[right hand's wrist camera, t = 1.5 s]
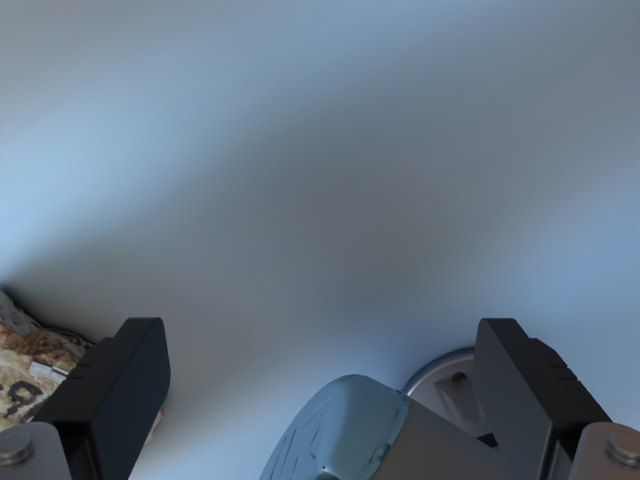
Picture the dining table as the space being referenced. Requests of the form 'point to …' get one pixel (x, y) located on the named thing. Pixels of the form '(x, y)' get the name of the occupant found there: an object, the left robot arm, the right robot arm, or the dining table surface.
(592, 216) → the dining table surface
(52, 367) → the stone
